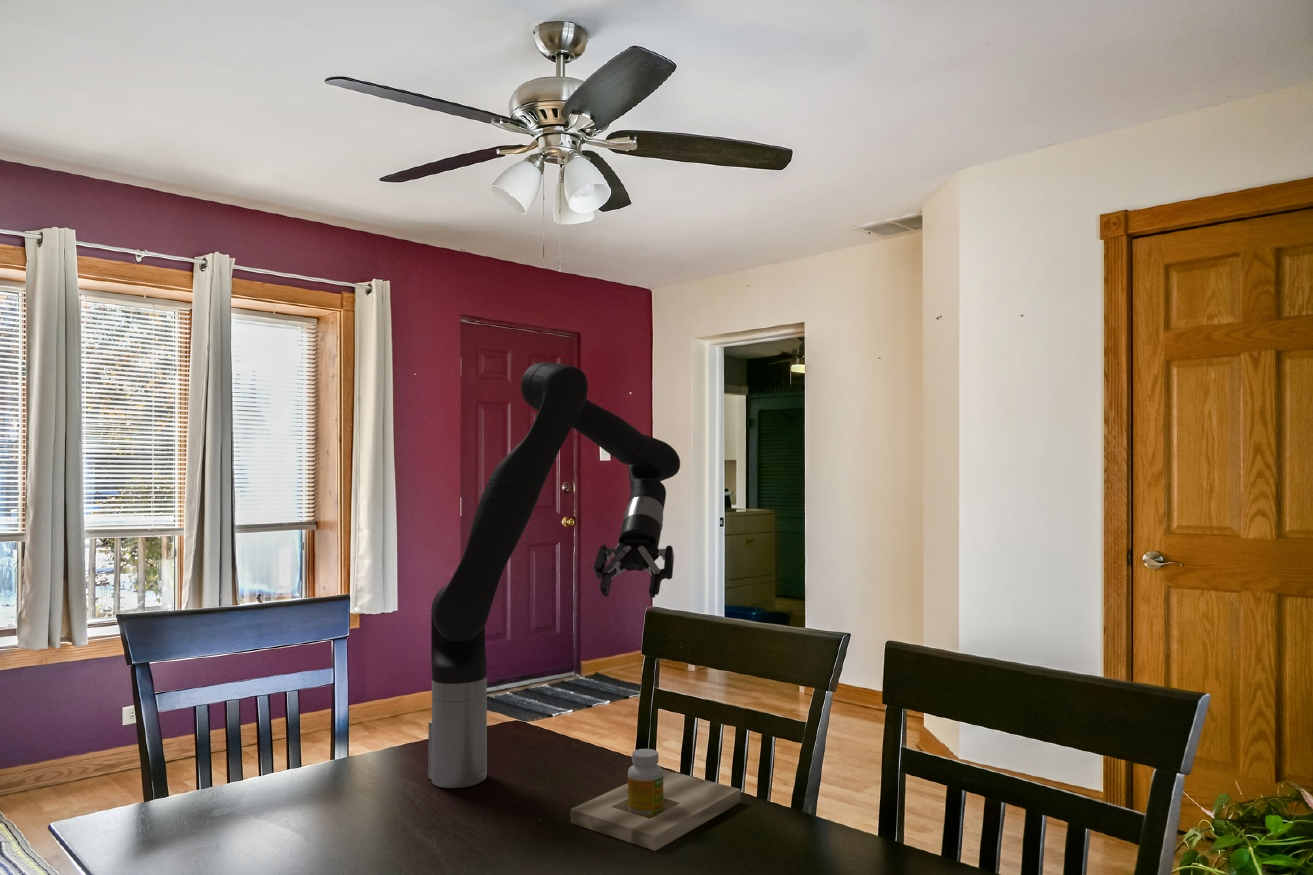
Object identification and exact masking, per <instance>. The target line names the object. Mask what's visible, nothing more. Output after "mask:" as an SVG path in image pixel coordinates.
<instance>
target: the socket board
mask: <svg viewBox="0 0 1313 875" xmlns="http://www.w3.org/2000/svg"><path fill="white" fill-rule="evenodd" d="M662 769H663V803H664V812H662V813H660V814H658V815H656V816H654V817H652V818H651V819H649V818H646V817H642V816H639V815H636V814H632V813H629V812H628V782H627V783H625V784H623V785H621V786H619V787H616V788H614V789H612V790H609V791H608V792H606V793H603V794H602V795H599V796H596V797H595V798H594V797H593V798H592V799H590V800H588V801H586V802H583V803H581V804H578V805H576V806H574V807H572V808H571V809H570V824H573V825H576V826H579V827H582V828H585V829H588V830H590V831H594V832H596V833H600V834H603V835H606V836H608V837H613V838H615V839H618V840H620V841H625V842H627V843H630V844H632V845H637V846H639V847H642V848H646V849H649V850H651V851H658V850H660V849H661V848H663V847H665V846H666V845H668V844H670V843H671V842H674V841H675V840H676V839H679V838H680V837H682V836H684V835H686V834H688V833H689V832H691V831H693V830H694V829H696V828H698V827H699V826H701V825H703V824H705V823H707V822H708V821H711V819H714V818H715V817H717V816H718V815H721V814H722V813H725V812H726V811H727V810H729V809H731V808H733V807H734V806H736V805H738V804H740V803H741V798H742V797H741V789H740V788H738V787H734V786H730V785H726V784H722V783H717V782H716V781H715V782H713V781H711V780H707V779H703V778H699V777H695V776H690V775H686V774H683V773H680V772H675V771H672V772H671V770H668V769H664V768H662ZM674 772H675V773H674ZM701 781H702V782H701Z"/></svg>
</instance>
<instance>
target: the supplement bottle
mask: <svg viewBox="0 0 1313 875" xmlns="http://www.w3.org/2000/svg"><path fill="white" fill-rule="evenodd" d="M631 753H632V754H631V761H632V762H631V763H632V765H631V766H630V767H629V768H628V771H627V783H628V812H629V813H632V814H636V815H639V816H642V817H646V818H649V819H651V818H652V817H654V816H656V815H658V814H660V813H662V812H664V803H663V769H664V768H663V767H662V766H661V765H659V764H658V763H659V752H658V751H657V750H655V749H652V748H640V749H638V748H637V749H635V750H634V751H632V752H631Z"/></svg>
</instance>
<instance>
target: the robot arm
mask: <svg viewBox="0 0 1313 875" xmlns="http://www.w3.org/2000/svg"><path fill="white" fill-rule="evenodd" d="M520 389H521V394H522V398H523V399H524V401H525V402H526V404H527V405H528V406H530V407H531V408H532V409H534V410H535V411H537V414H536V417H535V418H534V421H533V423H532V425H531V427H530V429H529V430H528V432H527V433H526V435H525V436H524V438H523V439H522V440H521V441H520V442H519V443H518V444H517V445H516V446H515V447H514V448H512V450H511V451H510V452H509V453H508V454H507V455H506V456H505V457H503V459H502V460H501V461H499V463H497V466H495V468H494V470H493V471H492V472H491V474H490V477H489V479H488V481H487V483H486V485H485V488H484V490H483V493H482V494H481V497H480V499H479V503H478V505H477V508H476V510H475V513H474V517H473V520H472V523H471V527H470V532H469V535H468V538H467V543H466V547H465V551H464V553H463V555H462V558H461V560H460V561H459V564H458V566H457V567H456V569H455V572H454V573H453V575H452V577H451V579H450V581H449V582H448V584H446V585H445V586H443V587H441V589H440V590H438V591H437V593H436V594H435V596H434V597H433V600H432V604H431V610H430V611H431V613H430V615H431V616H430V621H431V622H430V631H431V632H430V633H431V634H430V636H431V638H430V639H431V643H430V644H431V645H430V646H431V648H430V650H431V652H430V656H431V658H430V659H431V660H430V661H431V721H429V722H428V727H427V728H428V737H427V738H428V741H427V744H428V750H427V752H428V755H427V757H428V758H427V760H428V761H427V762H428V765H427V767H428V768H427V770H428V771H427V773H428V774H427V776H428V777H427V779H430V780H431V783H432V784H433V785H434V786H436V787H439V788H445V789H458V788H459V789H461V788H467V787H471V786H476V785H477V784H480V783H482V782H485V780H486V779H487V776H488V775H487V772H488V771H487V770H488V769H487V768H488V766H487V765H488V764H487V762H488V761H487V760H488V758H487V756H488V751H487V750H488V749H487V748H488V746H487V745H488V744H487V743H488V740H487V738H488V736H487V735H488V734H487V733H488V732H487V731H488V727H487V725H488V723H487V721H488V720H487V719H488V716H487V715H488V710H487V709H488V706H487V705H488V702H487V700H488V699H487V698H488V694H487V691H488V689H487V687H488V686H487V685H488V684H487V683H488V681H487V680H488V679H487V677H488V672H487V671H488V668H487V667H488V664H487V663H488V662H487V661H488V660H487V651H486V624H487V622H488V619H489V615H490V611H491V610H492V605H493V603H494V602H493V601H494V599H495V596H496V593H497V590H498V586H499V584H500V581H501V578H502V574H503V572H504V570H505V568H506V566H507V564H508V562H509V560H510V558H511V556H512V555H513V553H514V551H515V549H516V547H517V545H518V543H519V541H520V540H521V537H522V535H523V534H524V531H525V529H526V527H527V525H528V523H529V521H530V520H531V519H530V518H531V517H532V514H533V512H534V510H535V507H536V505H537V502H538V500H539V498H540V496H541V495H540V494H541V492H542V489H543V487H544V485H545V482H546V480H547V479H548V476H549V474H550V472H551V470H552V467H553V466H554V462H555V461H556V458H557V457H558V454H559V453H560V450H561V448H562V446H563V445H564V443H565V440H566V439H567V437H568V435H569V434H570V432H571V430H572V429H574V430H576V431H577V432H578V433H580V434H581V435H583V436H584V437H585V438H587V439H589V440H590V441H591V442H593V443H594V444H595V445H597V446H598V447H600V448H601V449H602V450H603V451H605V452H606V453H607V454H609V455H611V456H612V458H614V459H616V460H617V461H618V462H620V463H622V464H623V465H628V467H627V468H628V475H629V483H630V484H629V486H630V495H629V497H628V498H629V499H628V504H627V507H626V509H625V511H624V516H623V520H622V524H621V529H620V532H619V537H618V543H617V545H616V546H615V547H614V548H613V547H612V548H611V547H607V545H606V544H602V545H600V547H599V550H598V553H597V555H596V559H595V562H594V565H593V570H594V573H595V576H596V578H597V579H601V580H600V583H599V584H600V585H599V589H600V592H601V594H602V595H603V597H607V598H608V597H609V595H610V591H611V590H610V589H611V586H612V582H613V581H612V579H613V578H615V577H616V576H617V575H618V576H620V575H621V574H622V573H623V572H624V571H627V572H628V571H629V572H631V571H638V572H644V570H646V571H647V572H648V573H649V575H650V576H651V578H650V584H649V589H648V592H649V597H650V598H651V599H652V598H653V599H654V598H656V596H658V595H659V593H660V589H661V583H662V580H665V579H666V580H671V579H672V578H673V571H674V561H675V560H674V559H675V553H674V549H673V546H672V545H667V546H665V548H659V547H660V546H659V545H660V540H661V534H662V533H661V532H662V530H663V525H664V510H665V505H666V498H667V490H666V487H665V485H664V484H663V482H662V481H665V480H668V479H671V478H673V477H674V476H676V475H677V474H678V472H679V470H680V468H681V459H680V456H679V454H678V453H677V451H676V450H675V449H674V447H672V445H670V444H668V443H667V442H665V441H664V440H660V439H658V438H655V437H654V436H653V437H652V436H650V435H647V434H643V433H641V432H640V430H637V429H636V428H635V427H634V426H633V425H631V424H630V423H629V422H628V421H626V420H625V419H623V418H622V417H620V416H618V415H617V414H615V413H613V412H611V411H609V410H607V409H605V408H603V407H601V406H599V405H598V404H596V403H594V402H592V401H590V400H589V399H587V396H588V394H589V393H588V392H589V382H588V379H587V376H586V374H585V373H584V371H582V369H580V368H579V367H576V366H573V365H569V364H564V363H563V364H562V363H556V362H549V361H543V362H537V363H534V364H532V365H531V366H529V367H528V368H527V369H526V370H525V372H524V373H523V376H522V377H521V381H520ZM613 556H614V557H613ZM612 557H613V558H612ZM659 557H661V559H662V560H663V561H664V565H663V568H660V567H659V566H658V565H657V564H656V562H655V561H657V560H658V559H659ZM611 558H612V559H611ZM609 561H610V562H609ZM608 562H609V563H608ZM607 563H608V564H607Z"/></svg>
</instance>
